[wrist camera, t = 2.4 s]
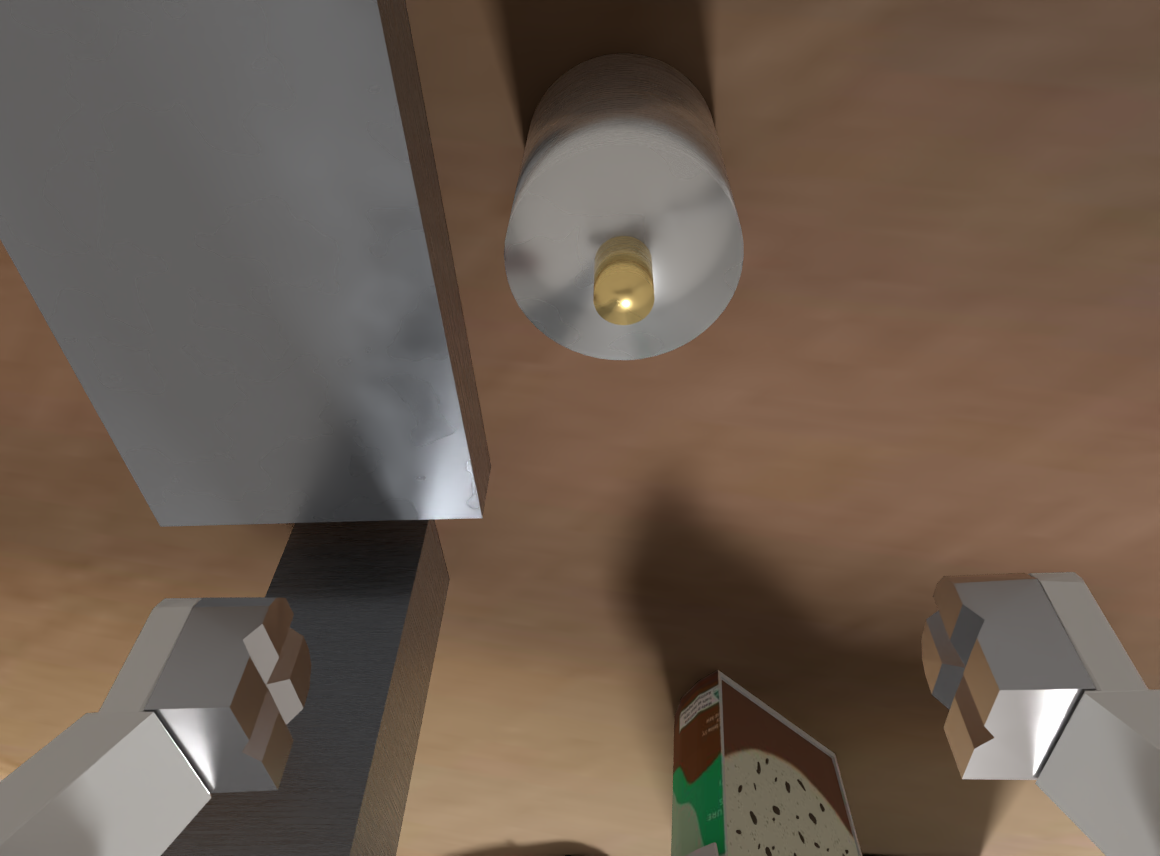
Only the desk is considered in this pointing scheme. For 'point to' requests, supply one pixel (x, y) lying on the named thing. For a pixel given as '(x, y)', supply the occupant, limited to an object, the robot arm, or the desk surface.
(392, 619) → the press
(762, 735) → the food container
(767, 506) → the desk surface
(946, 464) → the desk surface
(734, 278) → the cylinder
